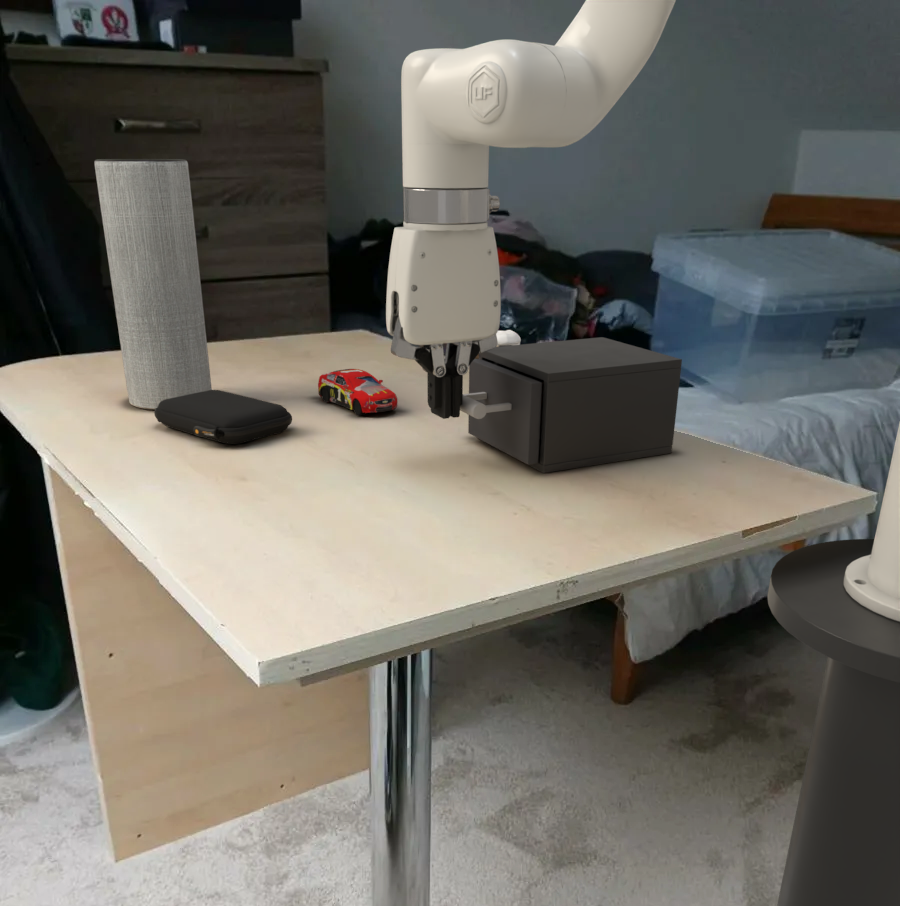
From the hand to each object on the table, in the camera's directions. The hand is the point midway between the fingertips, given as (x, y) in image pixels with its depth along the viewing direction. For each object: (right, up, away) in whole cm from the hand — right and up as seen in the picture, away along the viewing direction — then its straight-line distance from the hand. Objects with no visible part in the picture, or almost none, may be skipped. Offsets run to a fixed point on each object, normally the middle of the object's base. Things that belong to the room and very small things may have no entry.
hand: (445, 414), depth 91 cm
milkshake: (+6, +5, +23) cm, 25 cm away
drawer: (+10, -2, +6) cm, 12 cm away
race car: (-11, +6, +24) cm, 27 cm away
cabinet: (+13, -2, +8) cm, 16 cm away
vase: (-34, +6, +25) cm, 43 cm away
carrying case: (-25, +1, +13) cm, 28 cm away
